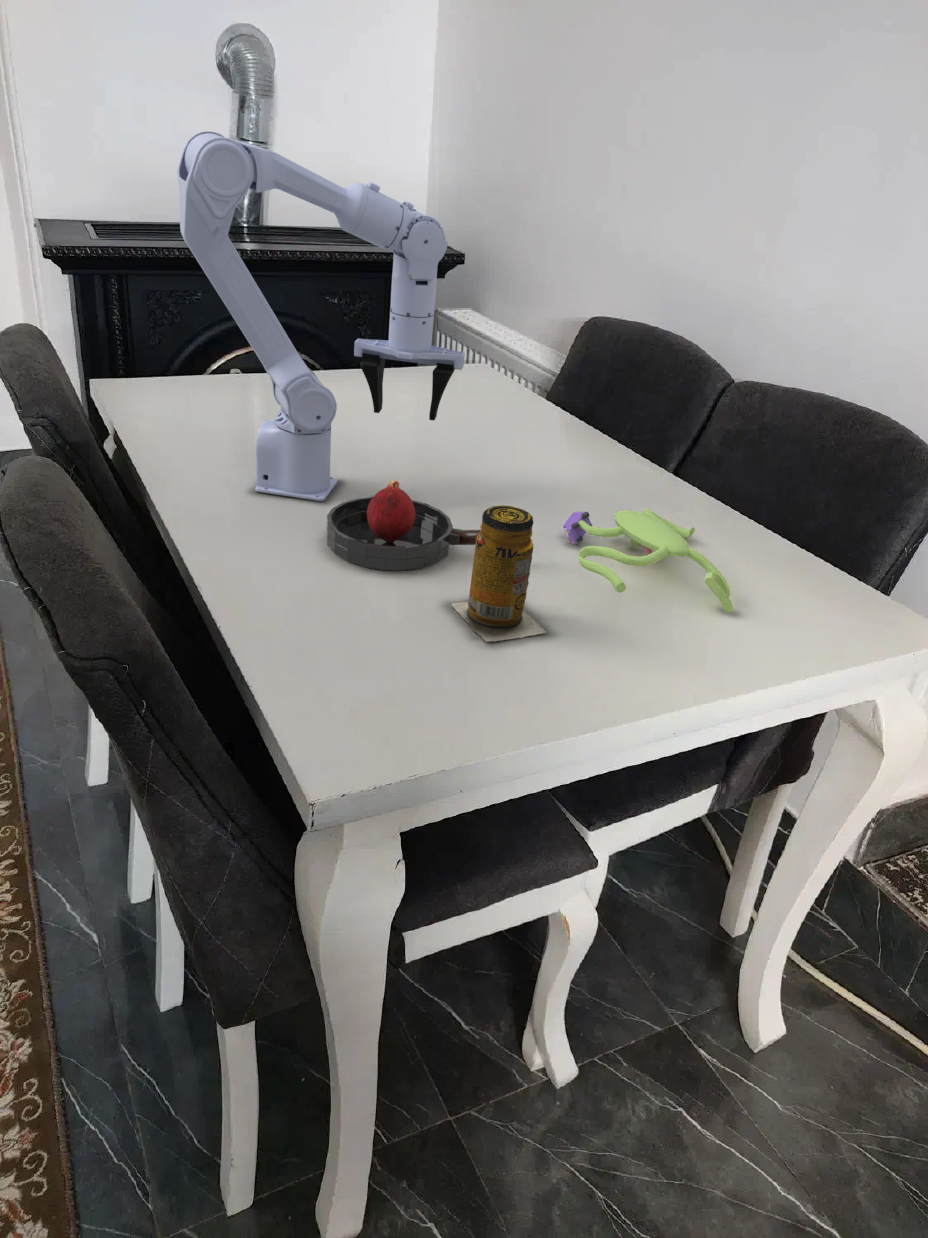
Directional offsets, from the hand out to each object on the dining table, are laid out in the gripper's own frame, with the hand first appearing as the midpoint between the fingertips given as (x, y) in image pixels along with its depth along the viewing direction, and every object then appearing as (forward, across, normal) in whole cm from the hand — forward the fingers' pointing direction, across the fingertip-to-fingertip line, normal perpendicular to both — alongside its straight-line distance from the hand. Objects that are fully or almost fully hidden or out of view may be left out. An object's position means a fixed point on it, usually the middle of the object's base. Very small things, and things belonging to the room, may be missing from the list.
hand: (405, 414), depth 126 cm
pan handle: (+8, +14, -21) cm, 27 cm away
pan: (+10, +2, -21) cm, 24 cm away
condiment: (+10, +17, -36) cm, 41 cm away
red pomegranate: (+10, +3, -21) cm, 24 cm away
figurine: (+10, +34, -18) cm, 39 cm away
